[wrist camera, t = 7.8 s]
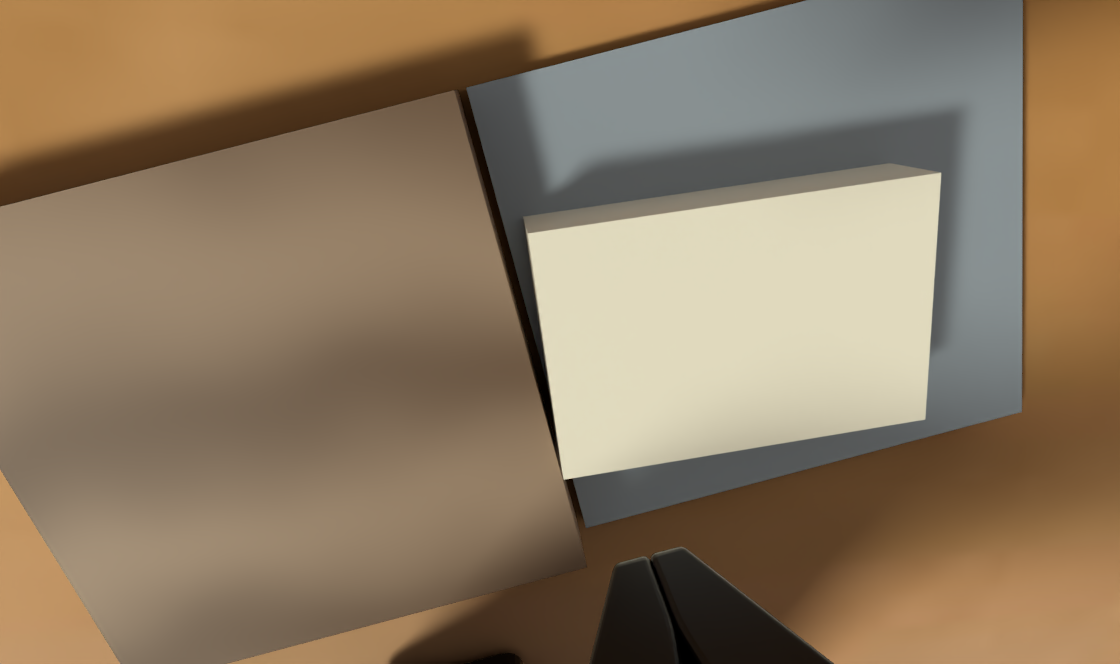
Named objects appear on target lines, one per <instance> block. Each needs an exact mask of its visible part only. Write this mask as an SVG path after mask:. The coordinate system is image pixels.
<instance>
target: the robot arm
mask: <svg viewBox="0 0 1120 664" xmlns="http://www.w3.org/2000/svg"><path fill="white" fill-rule="evenodd" d="M466 664H523V662H522V660H521V659H520V657H518V656H517V655H515V654H511V653H505V654H499V655H496V656H492V657H488V658H485V659H481V660H477V661H473V662H470V663H466ZM589 664H834V663H832V662H831V661H830V660H829V659H827V658H826V657H825V656H823V655H822V654H821V653H820V652H818V651H817V650H816V649H814V648H813V647H812V646H811V645H809V644H808V643H807V642H805V641H804V640H803V639H802V638H800V637H799V636H798V635H796V634H795V633H794V632H793V631H791V630H790V629H789V628H788V627H786V626H785V625H784V624H782V623H781V622H780V621H779V620H777V619H776V618H775V617H773V616H772V615H771V614H770V613H768V612H767V611H766V610H764V609H763V608H762V607H761V606H759V605H758V604H757V603H755V602H754V601H753V600H752V599H750V598H749V597H748V596H746V595H745V594H744V593H743V592H741V591H740V590H739V589H737V588H736V587H735V586H734V585H732V584H731V583H730V582H728V581H727V580H726V579H725V578H723V577H722V576H721V575H720V574H718V573H717V572H716V571H714V570H713V569H712V568H711V567H709V566H708V565H707V564H705V563H704V562H703V561H702V560H700V559H699V558H698V557H696V556H695V555H694V554H693V553H691V552H690V551H689V550H687V549H686V548H683V547H677V548H673V549H670V550H666V551H662V552H658V553H655V554H653V555H652V556H651V562H650V560H649V559H648V558H647V557H639V558H636V559H632V560H628V561H624V562H621V563H618V564H616V565H615V567H614V569H613V572H612V576H611V580H610V584H609V588H608V592H607V596H606V600H605V603H604V607H603V611H602V615H601V619H600V623H599V627H598V631H597V635H596V639H595V643H594V647H593V651H592V655H591V659H590V662H589Z"/></svg>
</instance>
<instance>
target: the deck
mask: <svg viewBox="0 0 1120 664" xmlns="http://www.w3.org/2000/svg"><path fill="white" fill-rule="evenodd" d="M0 470H1V471H2V473H3V475H4V476H5V478H6V480H7V481H8V483H9V484H10V486H11V488H12V489H13V491H14V492H15V494H16V496H17V497H18V499H19V501H20V502H21V504H22V505H23V507H24V509H25V510H26V512H27V513H28V515H29V517H30V518H31V520H32V522H33V523H34V525H35V526H36V528H37V530H38V531H39V533H40V534H41V536H42V538H43V539H44V541H45V543H46V544H47V546H48V547H49V549H50V551H51V552H52V554H53V556H54V557H55V559H56V560H57V562H58V564H59V565H60V567H61V568H62V570H63V572H64V573H65V575H66V577H67V578H68V580H69V581H70V583H71V585H72V586H73V588H74V589H75V591H76V593H77V594H78V596H79V598H80V599H81V601H82V602H83V604H84V606H85V607H86V609H87V610H88V612H89V614H90V615H91V617H92V619H93V620H94V622H95V623H96V625H97V627H98V628H99V630H100V631H101V633H102V635H103V636H104V638H105V640H106V641H107V643H108V644H109V646H110V648H111V649H112V651H113V653H114V654H115V656H116V657H117V659H118V661H119V662H120V664H227V663H231V662H235V661H239V660H242V659H246V658H250V657H254V656H257V655H261V654H265V653H269V652H272V651H276V650H280V649H284V648H287V647H291V646H295V645H298V644H302V643H306V642H310V641H313V640H317V639H321V638H325V637H328V636H332V635H336V634H340V633H343V632H347V631H351V630H355V629H358V628H362V627H366V626H369V625H373V624H377V623H381V622H384V621H388V620H392V619H396V618H399V617H403V616H407V615H411V614H414V613H418V612H422V611H426V610H429V609H433V608H437V607H440V606H444V605H448V604H452V603H455V602H459V601H463V600H467V599H470V598H474V597H478V596H482V595H485V594H489V593H493V592H497V591H500V590H504V589H508V588H511V587H515V586H519V585H523V584H526V583H530V582H534V581H538V580H541V579H545V578H549V577H553V576H556V575H560V574H564V573H568V572H571V571H575V570H579V569H582V568H586V567H587V564H586V560H585V555H584V550H583V545H582V541H581V536H580V531H579V527H578V522H577V518H576V514H575V511H574V507H573V504H572V500H571V496H570V493H569V489H568V486H567V482H566V479H565V480H564V479H563V474H562V469H561V464H560V459H559V454H558V449H557V446H556V442H555V439H554V435H553V431H552V428H551V424H550V420H549V417H548V413H547V410H546V406H545V402H544V399H543V395H542V392H541V388H540V384H539V381H538V377H537V373H536V370H535V366H534V363H533V359H532V355H531V352H530V348H529V344H528V341H527V337H526V334H525V330H524V326H523V323H522V319H521V316H520V312H519V308H518V305H517V301H516V297H515V294H514V290H513V287H512V283H511V279H510V276H509V272H508V269H507V265H506V261H505V258H504V254H503V250H502V247H501V243H500V240H499V236H498V232H497V229H496V225H495V222H494V218H493V214H492V211H491V207H490V203H489V200H488V196H487V193H486V189H485V185H484V182H483V178H482V175H481V171H480V167H479V164H478V160H477V156H476V153H475V149H474V146H473V142H472V138H471V135H470V131H469V127H468V124H467V120H466V117H465V113H464V109H463V106H462V102H461V99H460V95H459V91H458V90H453V91H449V92H445V93H441V94H437V95H433V96H430V97H426V98H422V99H418V100H414V101H410V102H406V103H402V104H398V105H394V106H391V107H387V108H383V109H379V110H375V111H371V112H367V113H363V114H359V115H356V116H352V117H348V118H344V119H340V120H336V121H332V122H328V123H324V124H320V125H317V126H313V127H309V128H305V129H301V130H297V131H293V132H289V133H285V134H282V135H278V136H274V137H270V138H266V139H262V140H258V141H254V142H250V143H246V144H243V145H239V146H235V147H231V148H227V149H223V150H219V151H215V152H211V153H208V154H204V155H200V156H196V157H192V158H188V159H184V160H180V161H176V162H172V163H169V164H165V165H161V166H157V167H153V168H149V169H145V170H141V171H137V172H134V173H130V174H126V175H122V176H118V177H114V178H110V179H106V180H102V181H98V182H95V183H91V184H87V185H83V186H79V187H75V188H71V189H67V190H63V191H60V192H56V193H52V194H48V195H44V196H40V197H36V198H32V199H28V200H25V201H21V202H17V203H13V204H9V205H5V206H1V207H0Z"/></svg>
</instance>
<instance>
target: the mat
mask: <svg viewBox="0 0 1120 664" xmlns="http://www.w3.org/2000/svg"><path fill="white" fill-rule="evenodd" d="M466 89H467V92H468V96H469V100H470V103H471V107H472V111H473V114H474V118H475V122H476V125H477V129H478V133H479V136H480V140H481V144H482V148H483V151H484V155H485V159H486V162H487V166H488V170H489V173H490V177H491V181H492V184H493V188H494V192H495V195H496V199H497V203H498V206H499V210H500V214H501V217H502V221H503V225H504V228H505V232H506V236H507V239H508V243H509V247H510V250H511V254H512V258H513V261H514V265H515V269H516V272H517V276H518V280H519V283H520V287H521V291H522V294H523V298H524V302H525V305H526V309H527V313H528V317H529V320H530V324H531V328H532V331H533V335H534V339H535V342H536V346H537V350H538V353H539V357H540V361H541V364H542V368H543V372H544V375H545V379H546V383H547V377H546V370H545V363H544V356H543V349H542V343H541V336H540V329H539V322H538V315H537V309H536V302H535V295H534V288H533V281H532V274H531V268H530V261H529V254H528V247H527V240H526V233H525V227H524V220H523V217H524V216H531V215H538V214H545V213H552V212H558V211H565V210H572V209H579V208H586V207H593V206H600V205H606V204H613V203H620V202H627V201H634V200H641V199H647V198H654V197H661V196H668V195H675V194H682V193H689V192H695V191H702V190H709V189H716V188H723V187H730V186H737V185H743V184H750V183H757V182H764V181H771V180H778V179H785V178H791V177H798V176H805V175H812V174H819V173H826V172H833V171H839V170H846V169H853V168H860V167H867V166H874V165H880V164H887V163H892V164H897V165H903V166H908V167H914V168H919V169H925V170H930V171H935V172H941V186H940V201H939V216H938V232H937V247H936V262H935V278H934V293H933V308H932V324H931V339H930V354H929V370H928V385H927V400H926V416H925V420H919V421H913V422H907V423H901V424H895V425H889V426H883V427H877V428H871V429H865V430H859V431H853V432H847V433H841V434H835V435H829V436H823V437H817V438H811V439H805V440H799V441H793V442H787V443H781V444H775V445H769V446H763V447H757V448H751V449H745V450H739V451H733V452H727V453H721V454H715V455H709V456H703V457H697V458H691V459H685V460H679V461H673V462H667V463H661V464H655V465H649V466H643V467H637V468H631V469H625V470H619V471H613V472H607V473H601V474H595V475H589V476H583V477H577V478H573V482H574V485H575V489H576V493H577V497H578V500H579V504H580V508H581V511H582V515H583V519H584V522H585V526H586V528H588V527H592V526H596V525H600V524H603V523H607V522H611V521H615V520H618V519H622V518H626V517H630V516H633V515H637V514H641V513H645V512H648V511H652V510H656V509H660V508H663V507H667V506H671V505H675V504H678V503H682V502H686V501H690V500H693V499H697V498H701V497H705V496H708V495H712V494H716V493H720V492H723V491H727V490H731V489H735V488H738V487H742V486H746V485H750V484H753V483H757V482H761V481H765V480H768V479H772V478H776V477H780V476H783V475H787V474H791V473H795V472H798V471H802V470H806V469H810V468H813V467H817V466H821V465H825V464H828V463H832V462H836V461H840V460H843V459H847V458H851V457H855V456H858V455H862V454H866V453H870V452H873V451H877V450H881V449H885V448H888V447H892V446H896V445H900V444H903V443H907V442H911V441H915V440H918V439H922V438H926V437H930V436H933V435H937V434H941V433H945V432H948V431H952V430H956V429H960V428H963V427H967V426H971V425H975V424H978V423H982V422H986V421H990V420H993V419H997V418H1001V417H1004V416H1008V415H1012V414H1016V413H1019V412H1022V154H1023V0H806V1H802V2H798V3H794V4H790V5H786V6H783V7H779V8H775V9H771V10H767V11H763V12H759V13H755V14H751V15H747V16H744V17H740V18H736V19H732V20H728V21H724V22H720V23H716V24H712V25H709V26H705V27H701V28H697V29H693V30H689V31H685V32H681V33H677V34H673V35H670V36H666V37H662V38H658V39H654V40H650V41H646V42H642V43H638V44H635V45H631V46H627V47H623V48H619V49H615V50H611V51H607V52H603V53H599V54H596V55H592V56H588V57H584V58H580V59H576V60H572V61H568V62H564V63H561V64H557V65H553V66H549V67H545V68H541V69H537V70H533V71H529V72H525V73H522V74H518V75H514V76H510V77H506V78H502V79H498V80H494V81H490V82H487V83H483V84H479V85H475V86H471V87H467V88H466ZM547 386H548V384H547Z"/></svg>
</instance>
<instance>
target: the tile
mask: <svg viewBox="0 0 1120 664" xmlns="http://www.w3.org/2000/svg"><path fill="white" fill-rule="evenodd" d="M940 186H941V172H935V171H930V170H925V169H919V168H914V167H908V166H903V165H897V164H892V163H887V164H880V165H874V166H867V167H860V168H853V169H846V170H839V171H833V172H826V173H819V174H812V175H805V176H798V177H791V178H785V179H778V180H771V181H764V182H757V183H750V184H743V185H737V186H730V187H723V188H716V189H709V190H702V191H695V192H689V193H682V194H675V195H668V196H661V197H654V198H647V199H641V200H634V201H627V202H620V203H613V204H606V205H600V206H593V207H586V208H579V209H572V210H565V211H558V212H552V213H545V214H538V215H531V216H524V217H523V220H524V227H525V233H526V240H527V247H528V254H529V261H530V268H531V274H532V281H533V288H534V295H535V302H536V309H537V315H538V322H539V329H540V336H541V343H542V349H543V356H544V363H545V370H546V377H547V384H548V390H549V397H550V404H551V411H552V418H553V425H554V431H555V438H556V444H557V449H558V454H559V459H560V464H561V469H562V474H563V479H564V480H565V479H571V478H577V477H583V476H589V475H595V474H601V473H607V472H613V471H619V470H625V469H631V468H637V467H643V466H649V465H655V464H661V463H667V462H673V461H679V460H685V459H691V458H697V457H703V456H709V455H715V454H721V453H727V452H733V451H739V450H745V449H751V448H757V447H763V446H769V445H775V444H781V443H787V442H793V441H799V440H805V439H811V438H817V437H823V436H829V435H835V434H841V433H847V432H853V431H859V430H865V429H871V428H877V427H883V426H889V425H895V424H901V423H907V422H913V421H919V420H925V416H926V400H927V385H928V370H929V354H930V339H931V324H932V308H933V293H934V278H935V262H936V247H937V232H938V216H939V201H940Z"/></svg>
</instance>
